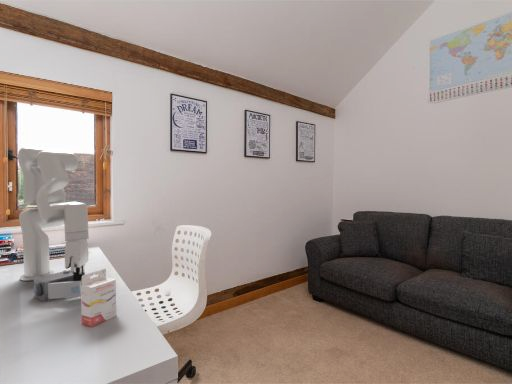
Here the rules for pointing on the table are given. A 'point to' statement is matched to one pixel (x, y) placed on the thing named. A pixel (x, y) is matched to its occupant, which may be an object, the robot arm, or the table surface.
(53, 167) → the robot arm
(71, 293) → the side door
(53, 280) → the grey knobbed panel
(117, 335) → the table surface
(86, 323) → the ink cartridge box
